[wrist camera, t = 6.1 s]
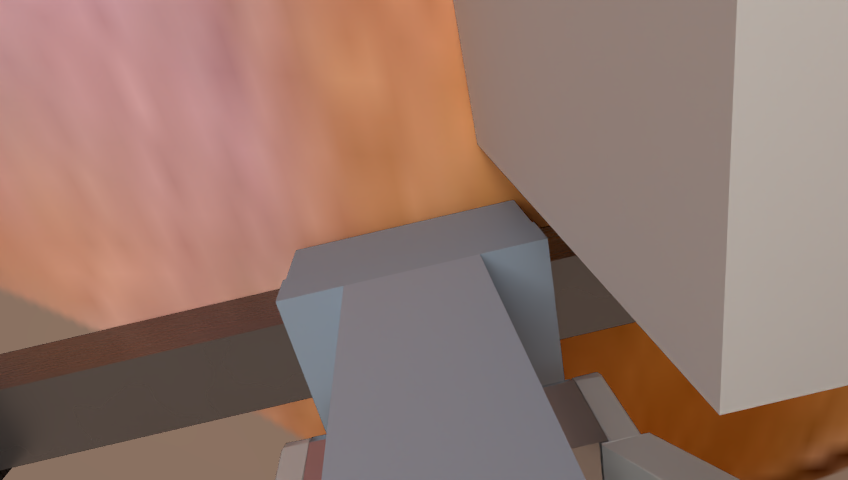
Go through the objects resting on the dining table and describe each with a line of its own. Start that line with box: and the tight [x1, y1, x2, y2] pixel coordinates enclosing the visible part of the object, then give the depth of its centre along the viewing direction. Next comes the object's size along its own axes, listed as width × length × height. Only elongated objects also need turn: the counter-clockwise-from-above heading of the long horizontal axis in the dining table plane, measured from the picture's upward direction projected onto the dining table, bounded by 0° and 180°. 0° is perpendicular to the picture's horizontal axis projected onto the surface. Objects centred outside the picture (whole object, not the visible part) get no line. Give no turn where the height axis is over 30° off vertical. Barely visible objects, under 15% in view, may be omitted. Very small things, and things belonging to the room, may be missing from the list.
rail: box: [0, 226, 636, 480], centre depth 13 cm, size 23×4×4 cm, turn 102°
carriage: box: [276, 200, 586, 480], centre depth 10 cm, size 6×5×9 cm
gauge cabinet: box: [453, 0, 848, 415], centre depth 8 cm, size 6×4×10 cm
